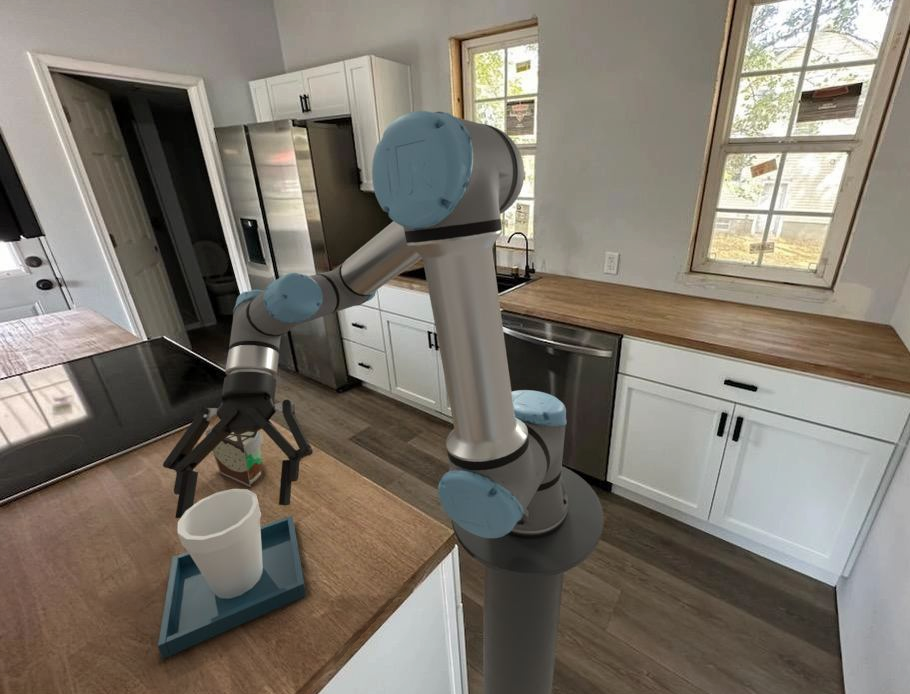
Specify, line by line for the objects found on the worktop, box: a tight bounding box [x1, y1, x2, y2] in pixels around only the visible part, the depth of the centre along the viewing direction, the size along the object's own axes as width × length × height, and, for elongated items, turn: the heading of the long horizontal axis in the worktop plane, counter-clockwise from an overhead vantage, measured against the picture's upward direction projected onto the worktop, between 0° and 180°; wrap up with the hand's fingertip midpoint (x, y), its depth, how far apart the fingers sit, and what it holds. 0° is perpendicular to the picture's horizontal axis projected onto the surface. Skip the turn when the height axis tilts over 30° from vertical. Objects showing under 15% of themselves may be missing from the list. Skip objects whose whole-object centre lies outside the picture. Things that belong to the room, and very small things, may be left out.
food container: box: [205, 427, 264, 488], centre depth 83 cm, size 12×6×10 cm, turn 66°
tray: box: [157, 514, 307, 660], centre depth 62 cm, size 17×15×2 cm
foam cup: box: [177, 488, 263, 599], centre depth 60 cm, size 10×9×13 cm
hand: (234, 511), depth 62 cm, fingers open, 13 cm apart
